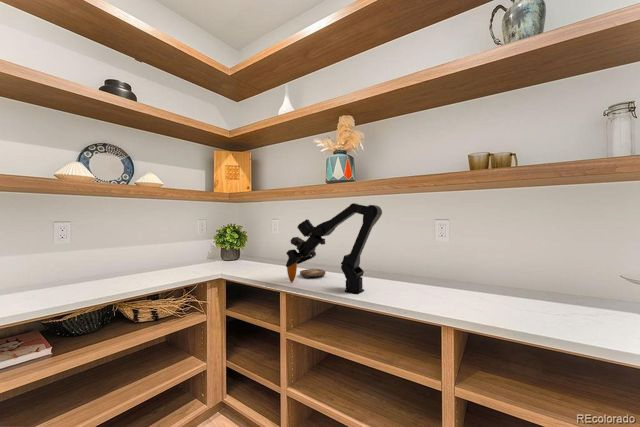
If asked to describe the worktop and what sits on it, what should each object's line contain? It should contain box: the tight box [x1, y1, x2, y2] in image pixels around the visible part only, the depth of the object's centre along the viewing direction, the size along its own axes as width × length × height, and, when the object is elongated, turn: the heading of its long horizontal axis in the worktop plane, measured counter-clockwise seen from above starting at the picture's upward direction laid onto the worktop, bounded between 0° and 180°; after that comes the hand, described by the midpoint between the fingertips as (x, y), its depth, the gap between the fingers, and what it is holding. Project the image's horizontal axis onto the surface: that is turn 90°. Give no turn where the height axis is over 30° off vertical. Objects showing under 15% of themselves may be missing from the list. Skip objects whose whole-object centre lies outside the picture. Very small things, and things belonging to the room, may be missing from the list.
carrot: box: [286, 263, 298, 283], centre depth 133 cm, size 5×5×15 cm
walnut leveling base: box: [299, 268, 326, 279], centre depth 147 cm, size 14×14×3 cm
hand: (292, 264), depth 133 cm, fingers open, 9 cm apart
